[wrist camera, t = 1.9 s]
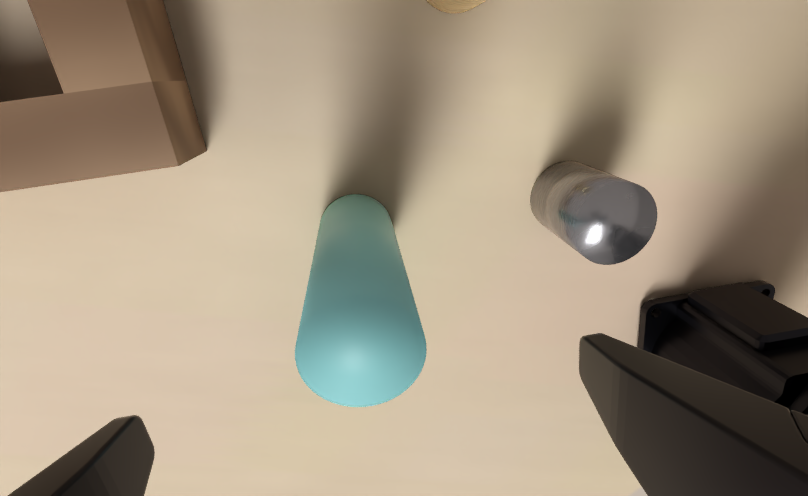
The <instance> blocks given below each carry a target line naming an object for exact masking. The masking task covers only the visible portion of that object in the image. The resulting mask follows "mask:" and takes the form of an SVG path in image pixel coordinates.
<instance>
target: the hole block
mask: <svg viewBox="0 0 808 496" xmlns="http://www.w3.org/2000/svg"><path fill="white" fill-rule="evenodd" d="M27 1H28V3H29V6H30V8H31V11H32V13H33V16H34V18H35V21H36V24H37V26H38V29H39V31H40V34H41V36H42V39H43V41H44V44H45V47H46V49H47V52H48V54H49V57H50V59H51V62H52V64H53V67H54V70H55V72H56V75H57V77H58V80H59V82H60V85H61V88H62V90H63V93H64V94H57V95H49V96H42V97H35V98H27V99H20V100H13V101H5V102H0V192H4V191H11V190H18V189H25V188H32V187H38V186H45V185H52V184H59V183H66V182H72V181H79V180H86V179H93V178H100V177H106V176H113V175H120V174H127V173H134V172H140V171H147V170H154V169H161V168H168V167H174V166H179V165H181V164H183V163H185V162H187V161H189V160H191V159H193V158H194V157H196V156H198V155H200V154H202V153H204V152H206V151H207V150H206V147H205V143H204V140H203V136H202V133H201V129H200V126H199V123H198V119H197V116H196V112H195V109H194V105H193V102H192V98H191V95H190V92H189V88H188V85H187V81H186V78H185V74H184V71H183V68H182V64H181V61H180V57H179V54H178V50H177V47H176V43H175V40H174V37H173V33H172V30H171V26H170V23H169V19H168V16H167V13H166V9H165V6H164V2H163V0H27Z"/></svg>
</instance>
